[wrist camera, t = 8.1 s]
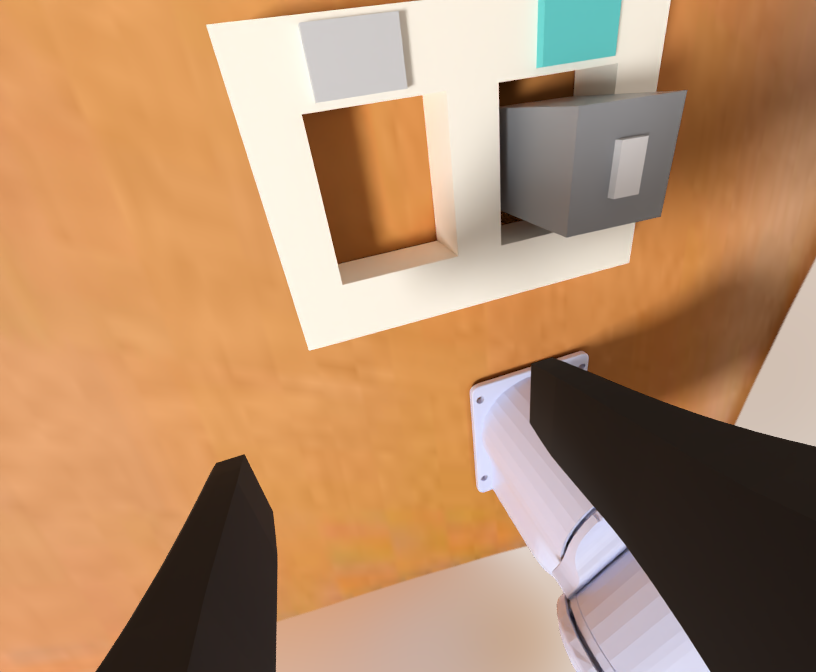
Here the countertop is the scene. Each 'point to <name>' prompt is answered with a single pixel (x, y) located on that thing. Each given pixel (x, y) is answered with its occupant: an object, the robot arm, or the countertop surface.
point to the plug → (588, 159)
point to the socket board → (446, 138)
